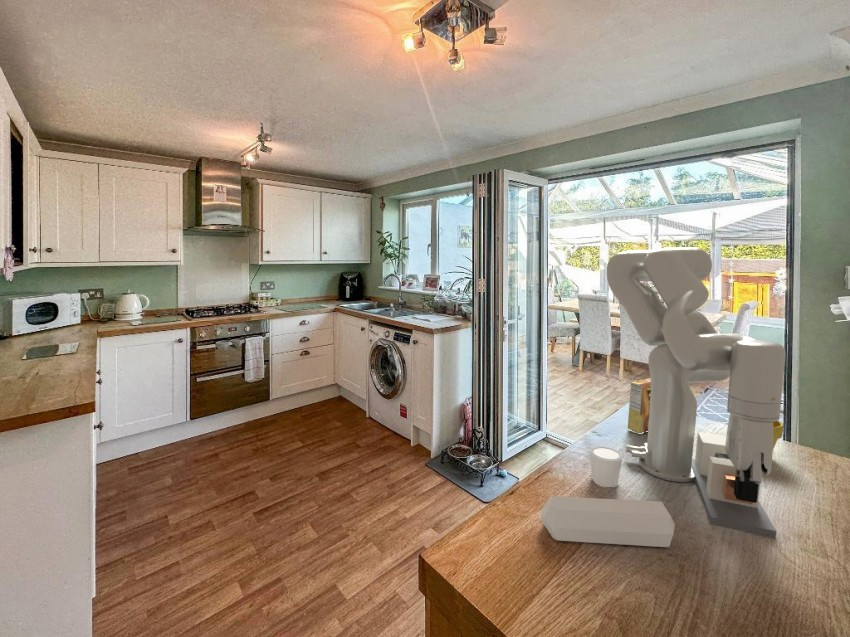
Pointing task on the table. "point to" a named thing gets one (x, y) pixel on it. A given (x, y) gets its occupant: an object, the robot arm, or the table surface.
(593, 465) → the shot glass
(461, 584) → the table surface
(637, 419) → the candy box
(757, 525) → the bearing base
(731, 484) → the shaft
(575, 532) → the crystal
